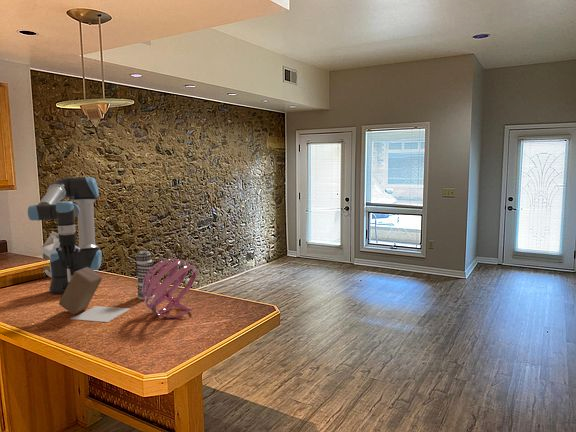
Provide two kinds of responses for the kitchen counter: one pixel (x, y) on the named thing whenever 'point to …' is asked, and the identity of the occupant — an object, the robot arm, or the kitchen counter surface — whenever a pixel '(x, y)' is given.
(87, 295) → the wooden block
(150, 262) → the decorative candle
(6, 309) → the kitchen counter surface
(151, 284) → the spiral basket
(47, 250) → the gable box
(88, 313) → the mat
